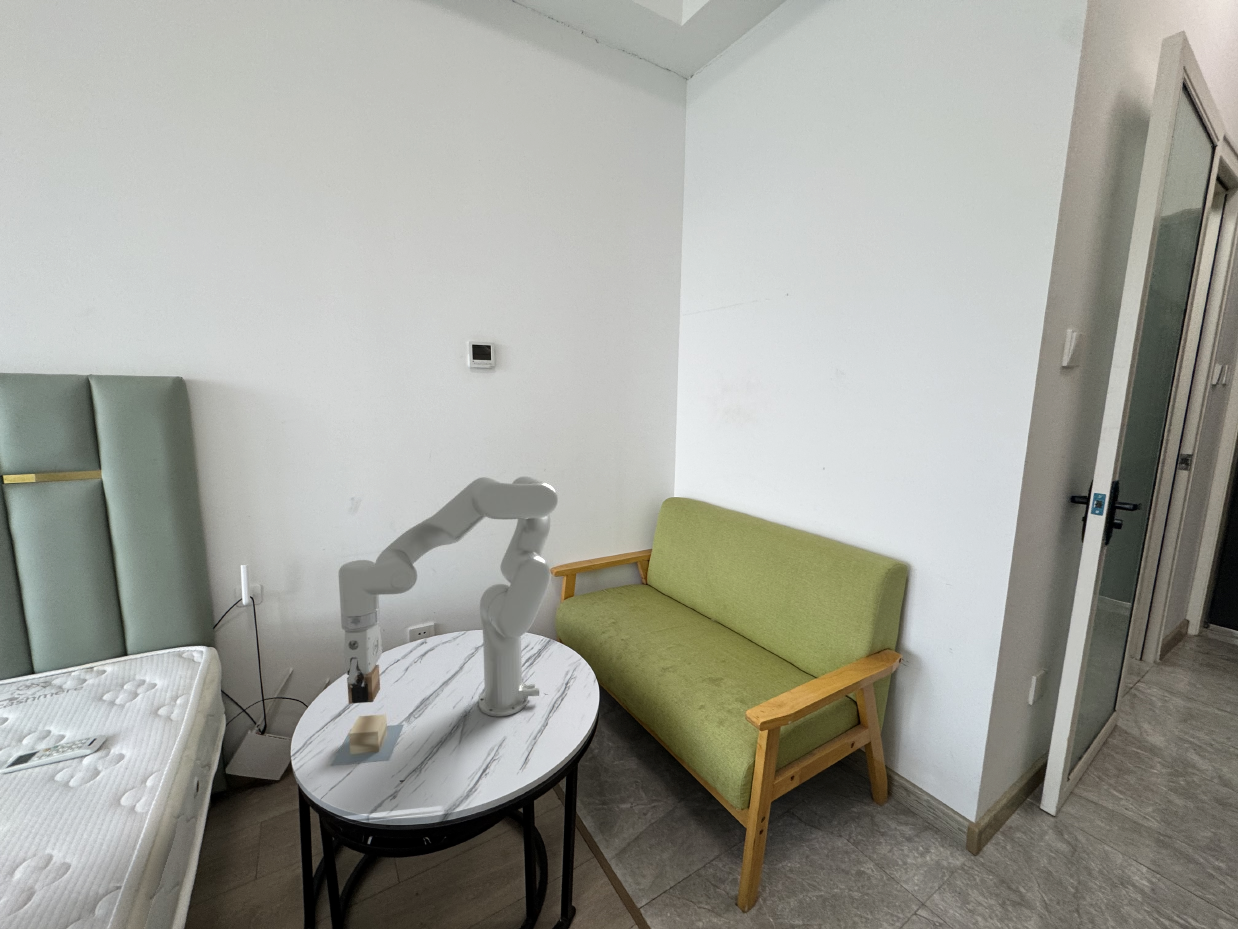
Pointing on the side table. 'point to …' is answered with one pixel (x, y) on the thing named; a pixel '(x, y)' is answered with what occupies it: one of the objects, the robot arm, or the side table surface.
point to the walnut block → (372, 682)
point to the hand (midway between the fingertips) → (364, 693)
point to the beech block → (368, 734)
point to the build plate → (382, 755)
